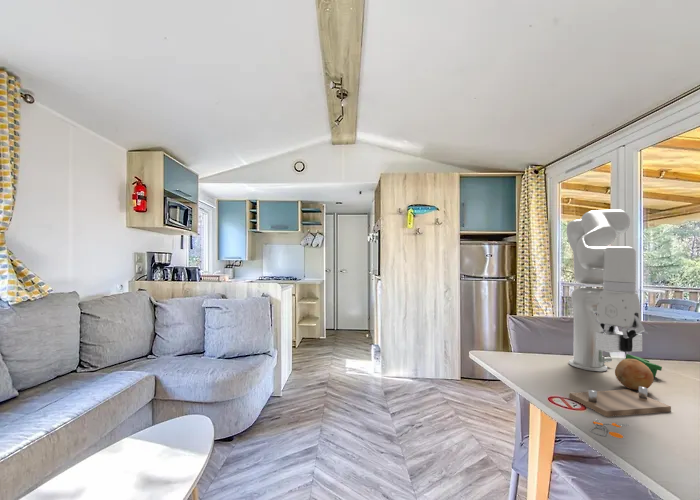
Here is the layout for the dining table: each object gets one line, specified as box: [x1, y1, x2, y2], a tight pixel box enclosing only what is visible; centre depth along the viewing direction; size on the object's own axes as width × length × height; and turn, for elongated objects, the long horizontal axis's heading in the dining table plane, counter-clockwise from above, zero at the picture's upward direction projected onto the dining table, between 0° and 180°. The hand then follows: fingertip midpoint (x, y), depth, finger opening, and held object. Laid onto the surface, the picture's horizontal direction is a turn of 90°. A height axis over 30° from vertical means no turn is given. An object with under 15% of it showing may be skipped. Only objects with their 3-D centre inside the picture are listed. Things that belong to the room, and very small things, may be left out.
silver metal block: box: [596, 330, 643, 353], centre depth 98 cm, size 4×12×5 cm, turn 101°
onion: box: [614, 358, 655, 391], centre depth 110 cm, size 10×10×10 cm
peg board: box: [569, 386, 672, 418], centre depth 98 cm, size 22×12×4 cm, turn 101°
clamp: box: [624, 353, 663, 378], centre depth 125 cm, size 12×6×9 cm, turn 162°
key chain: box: [589, 418, 630, 440], centre depth 84 cm, size 13×7×1 cm, turn 130°
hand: (618, 348), depth 98 cm, fingers closed on silver metal block, 4 cm apart
